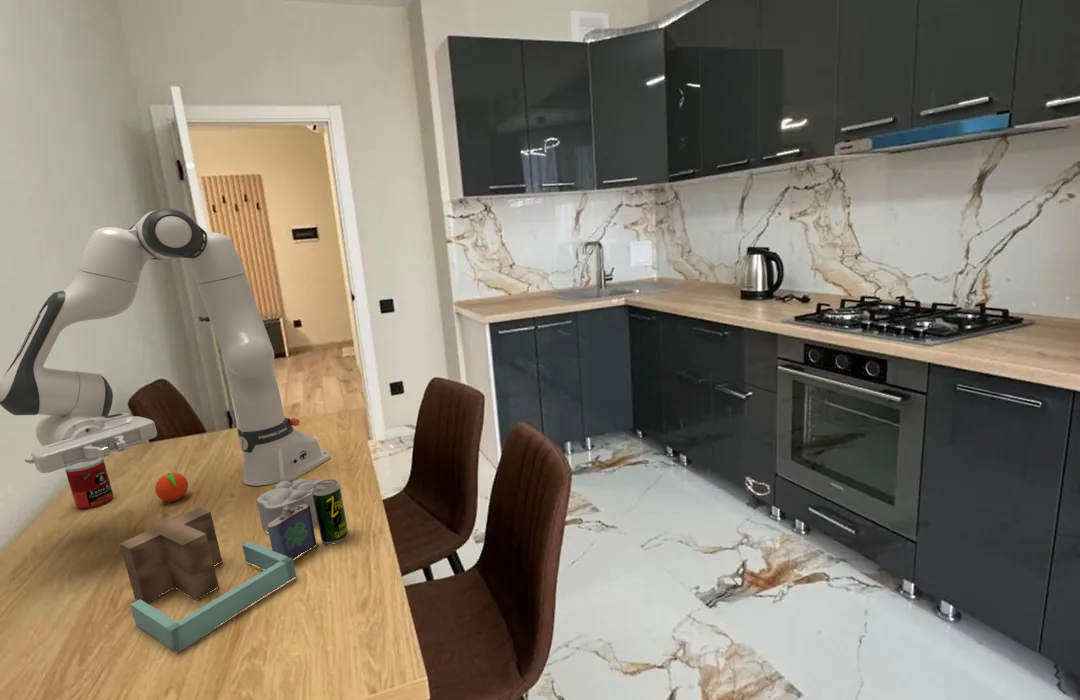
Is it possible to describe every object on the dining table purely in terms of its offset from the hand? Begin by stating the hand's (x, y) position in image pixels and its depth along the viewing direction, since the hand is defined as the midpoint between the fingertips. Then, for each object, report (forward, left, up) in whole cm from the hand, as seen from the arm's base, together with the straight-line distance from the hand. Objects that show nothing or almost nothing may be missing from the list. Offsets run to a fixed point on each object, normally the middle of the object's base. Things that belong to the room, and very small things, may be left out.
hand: (113, 449), depth 112 cm
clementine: (-17, -23, -24) cm, 37 cm away
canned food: (-7, -43, -24) cm, 50 cm away
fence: (0, +29, -24) cm, 38 cm away
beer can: (-23, +31, -24) cm, 46 cm away
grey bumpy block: (-24, +17, -24) cm, 38 cm away
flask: (-15, +29, -24) cm, 41 cm away
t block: (0, +19, -24) cm, 31 cm away
